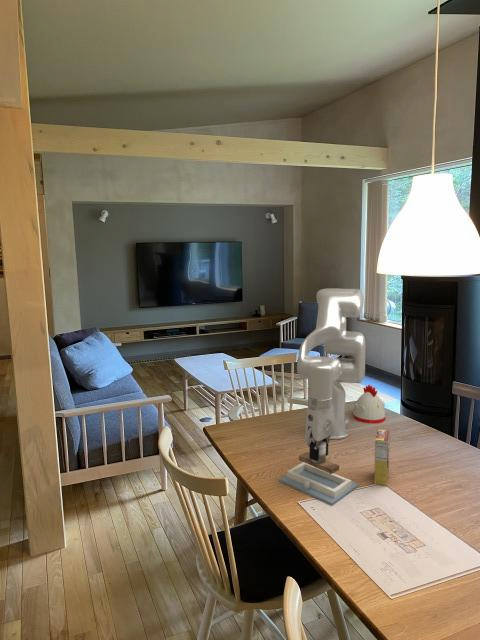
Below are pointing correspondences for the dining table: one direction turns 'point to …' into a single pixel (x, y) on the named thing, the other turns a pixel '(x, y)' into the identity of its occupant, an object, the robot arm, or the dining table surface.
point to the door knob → (320, 459)
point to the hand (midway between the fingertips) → (318, 456)
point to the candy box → (381, 457)
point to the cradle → (318, 483)
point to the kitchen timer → (369, 407)
